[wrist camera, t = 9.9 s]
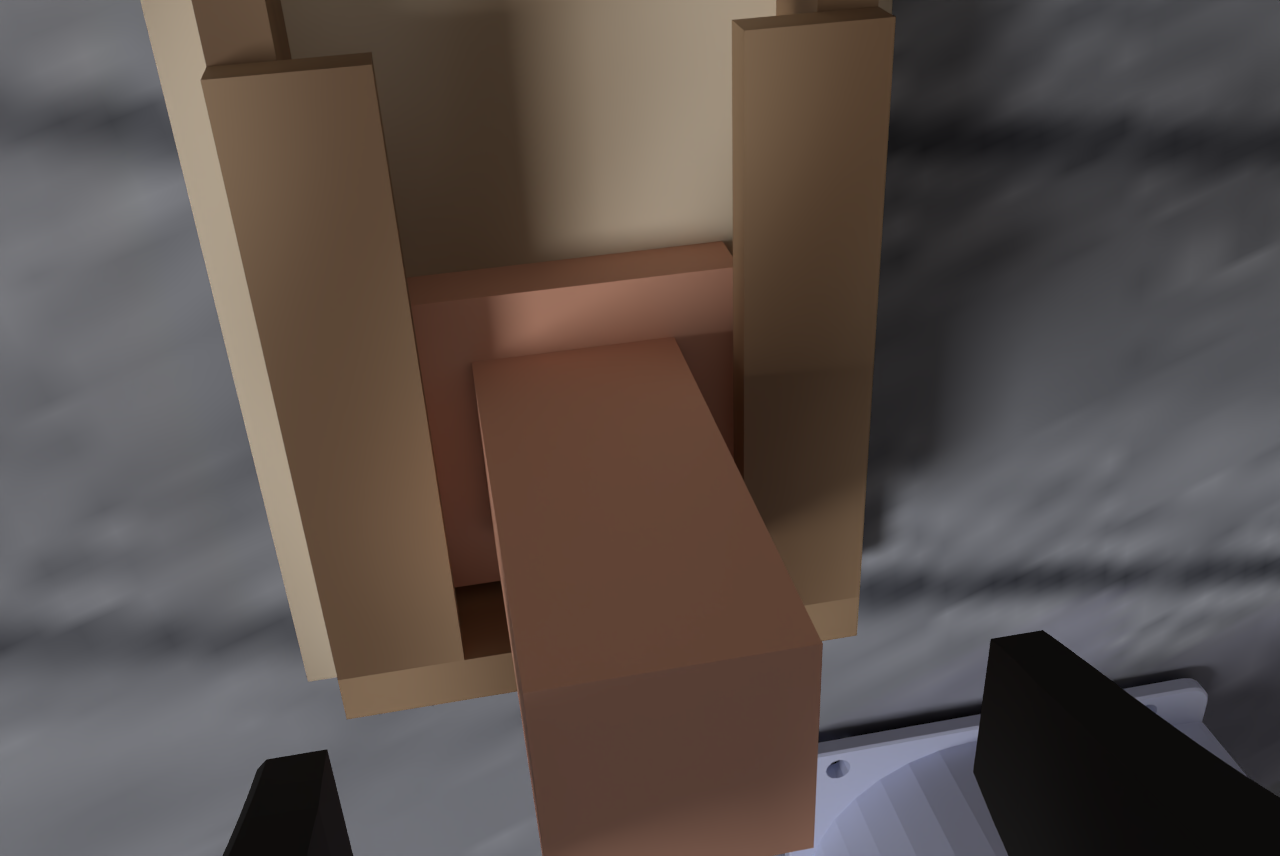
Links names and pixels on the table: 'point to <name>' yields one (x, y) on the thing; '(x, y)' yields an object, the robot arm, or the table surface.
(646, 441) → the key peg
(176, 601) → the table surface
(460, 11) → the keyhole board
